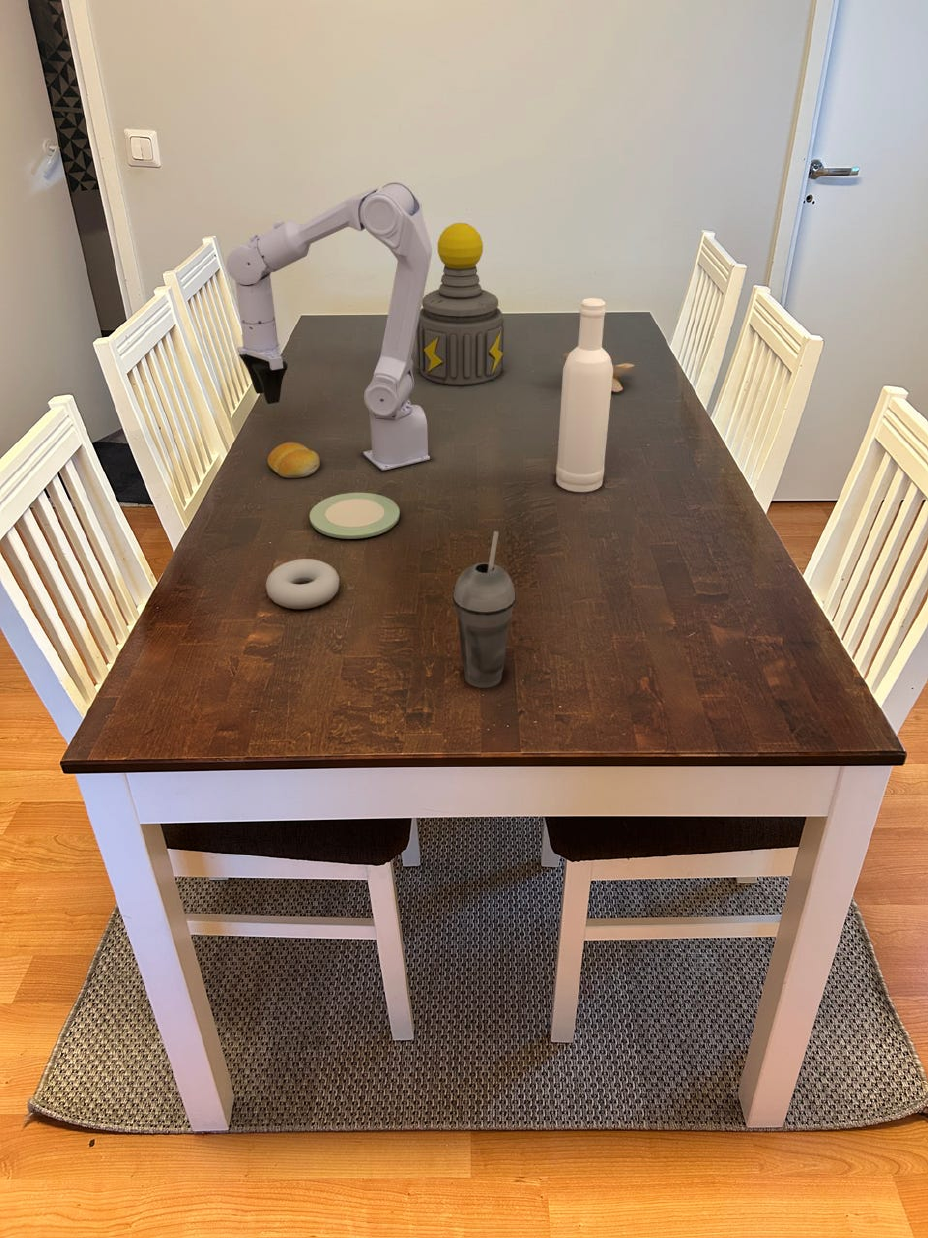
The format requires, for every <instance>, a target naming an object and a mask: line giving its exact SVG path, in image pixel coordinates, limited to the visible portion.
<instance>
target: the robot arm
mask: <svg viewBox="0 0 928 1238" xmlns="http://www.w3.org/2000/svg"><path fill="white" fill-rule="evenodd" d="M423 216H424V215H423V205H422V203H421V201H420V200H419V199H418V197H417V196H416V195H415V193H414V192H413V190H411V188H410V187H409V186H407V185H406V184H404V183H402V182H399V181H391V182H388V183H386V184H384V185H383V186H382V187H381V189H379V187H375V188H372V189H369V190H365V191H363V192H360V193H358V194H355V195H352V196H351V197H349V198H346V199H344V200H343V201H341V202H339V203H338V204H335V205H333V206H332V207H331V208H328V209H327V210H325V211H323V212H322V213H319V214H318V215H316V216H314V217H313V218H311V219H309V220H307V221H305V222H304V223H298V222H297V221H294V220H287V221H284V219H280V220H278V221H276V222H275V223H273V224H272V226H273V228H272V229H270V230H268V231H266V232H264V233H262V234H260V235H258V234H257V233H255V234H254V235H251V236H250V237H249V241H246V242H245V243H244V242H243V244H241V245H238V246H236V247H234V249H233V250H232V251H231V252H230V253H229V254H228V256H227V258H226V269H227V273H228V274H229V276H230V277H231V278H232V280H233V281H234V283H235V289H236V297H237V299H236V300H237V306H238V315H239V320H240V326H241V333H242V334H241V340H242V346H239V347H237V348H236V350H237V353H238V356H239V358H240V360H241V361H242V362H243V364H244V366H245V368H246V370H247V371H248V375H249V377H250V380H251V383H252V386H253V388H254V391H255V393H256V394H257V395H259V394H263V397H264V399H265V402H266V404H268V405H272V404H276V403H277V404H278V403H280V400H281V393H282V386H283V381H284V377H285V374H286V372H287V370H288V368H289V366H288V362H286V361H285V360H283V357H282V355H281V346H280V343H279V340H278V339H279V337H278V332H277V330H278V329H277V321H276V312H275V305H274V296H273V288H272V279H271V275H272V273H276V272H277V271H279V270H281V269H284V268H286V267H288V266H289V265H293V263H295V262H298V261H299V260H301V259H304V258H305V257H307V256H308V255H309V251H310V247H311V244H313V243H316V242H318V241H320V240H323V239H324V238H327V237H329V236H331V235H334V234H335V233H337V232H340V231H342V230H345V229H346V228H351V229H353V230H355V231H358V232H363V231H364V230H366V231H367V232H368V233H369V234H370V235H371V236H372V237H374V238H375V239H376V240H377V241H379V242H380V243H382V244H383V245H384V246H386V247H387V248H388V250H390V252H391V253H392V255H393V257H395V259H396V260H397V264H396V270H395V275H394V280H393V287H392V290H391V295H390V296H391V297H390V302H389V308H388V313H387V319H386V323H385V330H384V334H383V340H382V345H381V351H380V356H379V359H378V362H377V364H376V367H375V369H374V371H373V377H372V380H371V382H370V383H369V385H368V386H367V387H366V388H365V391H364V393H363V394H364V395H363V397H364V398H363V400H364V405H365V406H366V408H367V410H368V411H369V424H370V425H369V427H370V440H371V444H370V445H371V449H369V450H365V451H363V452H362V453H363V456H365V458H367V459H368V460H369V461H371V463H373V465H375V467H376V468H378V469H379V470H381V471H382V472H383V471H389V470H393V469H397V468H400V467H405V466H409V465H413V464H417V463H422V462H426V461H430V459H431V456H430V455H429V439H428V438H429V436H428V435H429V434H428V420H427V417H426V413H425V411H424V409H423V408H422V406H421V405H419V404H412V403H411V401H410V399H409V396H410V395H411V394H412V392H413V390H414V388H415V378H414V375H413V365H414V361H413V359H412V355H413V350H414V346H415V345H414V344H415V338H416V330H417V325H418V320H419V315H420V310H421V309H422V307H423V306H422V301H423V298H424V297H425V290H426V286H427V281H428V276H429V270H430V266H431V260H432V255H433V245H432V243H431V240H430V236H429V233H428V229H427V225H426V223H425V220H424V217H423Z"/></svg>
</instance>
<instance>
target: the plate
mask: <svg viewBox="0 0 928 1238" xmlns="http://www.w3.org/2000/svg"><path fill="white" fill-rule="evenodd" d="M400 511H401V510H400V506H398V504H397V503H396V502H395V501H394V500H392V499H390V498H389V497H387V496H384V495H380V494H376V493H371V492H347V493H341V494H336V495H333V496H330V497H327V498H325V499H323V500H321V501H319V502H318V503H316V504H315V505H314V506H313V507H312V508H311V510H310V511H309V522H310V525H311V526H312V527H313V529H315V530H316V531H318V532H319V533H321V534H322V535H325V536H328V537H331V538H337V539H347V540H351V539H353V540H354V539H365V538H370V537H375V536H378V535H381V534H383V533H386V532H387V531H389V530H391V529H392V528H393V527H395V525H397V523H398V522H399V521H400V517H401V512H400Z"/></svg>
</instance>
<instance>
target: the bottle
mask: <svg viewBox="0 0 928 1238" xmlns="http://www.w3.org/2000/svg"><path fill="white" fill-rule="evenodd" d="M606 312H607V309H606V302H605V301H604V299H602V298H597V297H587V298H584V299H583V300H582V301H581V302H580V308H579V329H578V330H579V331H578V345H577V346H575V348H574V349H573V350H571V351H570V352H568V353H569V355H568V358H567V360H565V362H564V366H563V369H562V378H561V379H562V380H561V395H560V396H561V397H560V411H559V412H560V413H559V427H558V428H559V429H558V442H557V443H558V444H557V445H558V447H557V459H556V461H557V462H556V468H555V474H556V477H555V482H556V484H557V485H558V487H560V488H561V489H563V490H566V491H569V492H574V493H590V492H594V491H597V490H598V489H600V487H602V486H603V481H604V475H605V468H606V467H605V461H606V450H607V441H608V429H609V417H610V407H611V396H612V390H611V388H612V377H613V366H612V365H613V362H612V359H611V356H610V354H609V353H608V352H607V351H606V350H605V349H604V347H603V337H604V325H605V315H606V314H607V313H606Z"/></svg>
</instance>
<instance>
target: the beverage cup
mask: <svg viewBox="0 0 928 1238" xmlns="http://www.w3.org/2000/svg"><path fill="white" fill-rule="evenodd" d="M498 537H499V531H497V530H494V531H493V536H492V541H491V549H490V553H489V554H490V555H489V561H488V562H486V561H485V562H477V563H474V564H472V565H470V566H468V567H467V568H465V569H464V570H463V571H462V573H461V574H460V575H459V577H458V578H457V580H456V582H455V587H454V591H453V595H452V601H453V603H454V609H455V613H456V615H457V622H458V633H459V641H460V651H461V659H462V660H461V661H462V668H463V673H464V679H465V681H466V682H467V684H469V685H471V686H473V687H475V688H479V689H480V688H481V689H487V688H493V687H495V686H496V685H498V684H499V683H500V682H501V680H502V679H503V677H502V675H503V670H504V669H505V667H504V666H505V659H506V654H507V653H506V652H507V645H508V638H509V631H510V623H511V618H512V616H513V612H514V608H515V604H516V601H517V595H516V592H515V585H514V583H513V581H512V579H511V576H510V575H509V574H508V572H507V571H506V570H505V569H503V568H502V567H501V566H500V565H497V564H496V563H495V557H496V551H497V545H498V540H499V539H498Z"/></svg>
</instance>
